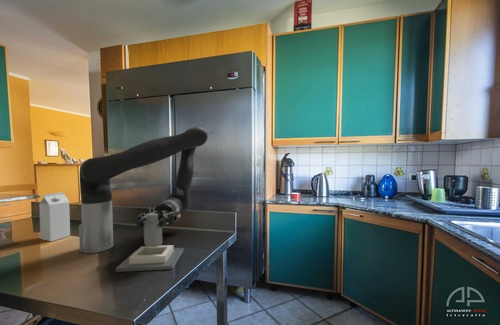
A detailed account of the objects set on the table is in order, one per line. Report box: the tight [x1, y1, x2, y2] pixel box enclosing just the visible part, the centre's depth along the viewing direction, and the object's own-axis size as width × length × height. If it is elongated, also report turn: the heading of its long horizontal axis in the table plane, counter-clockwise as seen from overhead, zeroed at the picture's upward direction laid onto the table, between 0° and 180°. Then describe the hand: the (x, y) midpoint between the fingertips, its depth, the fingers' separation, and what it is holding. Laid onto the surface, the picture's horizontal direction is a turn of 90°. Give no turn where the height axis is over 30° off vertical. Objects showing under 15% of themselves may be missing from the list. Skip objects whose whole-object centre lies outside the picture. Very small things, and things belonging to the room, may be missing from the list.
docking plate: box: [115, 244, 184, 273], centre depth 70 cm, size 16×13×3 cm
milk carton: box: [38, 191, 71, 242], centre depth 93 cm, size 7×7×19 cm
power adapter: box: [143, 206, 163, 247], centre depth 70 cm, size 3×5×12 cm, turn 64°
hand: (149, 224), depth 68 cm, fingers closed on power adapter, 5 cm apart
